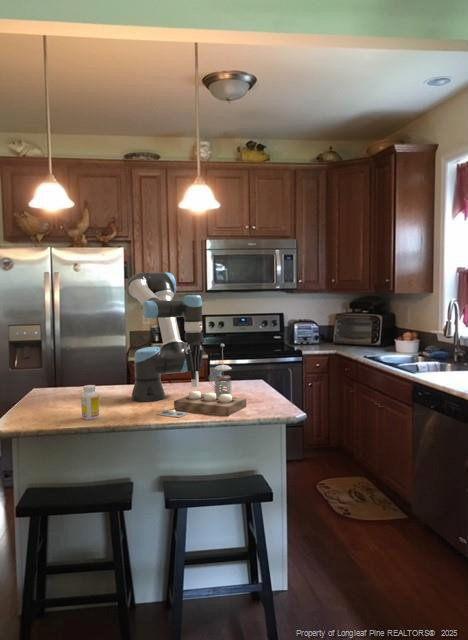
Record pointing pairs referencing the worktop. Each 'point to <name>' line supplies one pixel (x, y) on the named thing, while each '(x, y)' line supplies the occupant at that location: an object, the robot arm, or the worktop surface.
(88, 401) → the supplement bottle
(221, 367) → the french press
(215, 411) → the board
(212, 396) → the button
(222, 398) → the button
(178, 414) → the card
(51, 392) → the worktop surface
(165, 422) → the worktop surface
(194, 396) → the button
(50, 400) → the worktop surface
